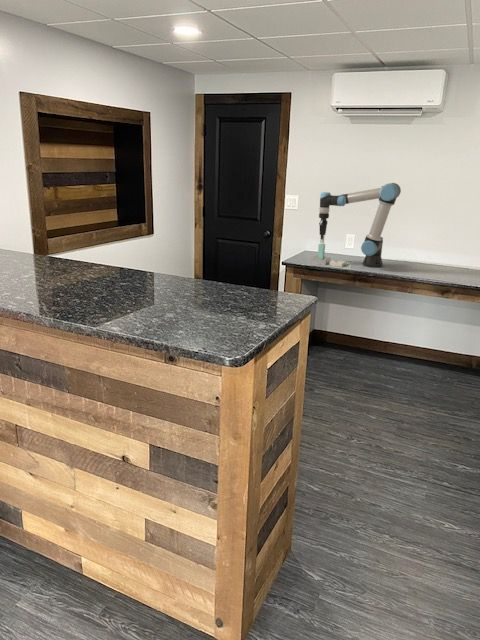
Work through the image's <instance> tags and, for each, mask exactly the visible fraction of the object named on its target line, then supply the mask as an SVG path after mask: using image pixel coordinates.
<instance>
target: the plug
mask: <svg viewBox="0 0 480 640" xmlns="http://www.w3.org/2000/svg"><path fill="white" fill-rule="evenodd" d="M317 247H318V248H317V249H318V250H317V255H318V258H320V259H324V257H325V250H326V243H319V244H318V246H317Z"/></svg>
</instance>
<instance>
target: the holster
mask: <svg viewBox="0 0 480 640" xmlns="http://www.w3.org/2000/svg"><path fill="white" fill-rule="evenodd" d="M346 264H347V261H345V260H339V259H337V260H336V259H333V260H330V263H328V266H332V267H344V266H345V265H346Z"/></svg>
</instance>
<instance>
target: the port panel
mask: <svg viewBox="0 0 480 640" xmlns="http://www.w3.org/2000/svg"><path fill="white" fill-rule="evenodd" d="M331 261H332V260H331V257H329V256H324V259H320V258H318V254H317V255H315V256H313V257H311V259H310V264H313V265H323V266H326V265H329V264H330V262H331Z"/></svg>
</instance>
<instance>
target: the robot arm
mask: <svg viewBox="0 0 480 640" xmlns="http://www.w3.org/2000/svg"><path fill="white" fill-rule="evenodd" d="M401 191H402V189H401V186H400V185H399V184H398V183H395V182H391V183H386V184H384V185H382V186H381V187H378V188H372V189H367V190H362V191H355V192H349V193H344V194H340V195H332V194H331V192H329V191H323V192H320V195H319V197H320V198H319V208H318V210H319V214H318V218H319V219H320V221H319V225H318V226H319V236H320V238H319V239H320V240H319V241H320V242H319V244H325V237H326V234H327V226H328V220H327V219H329V218H330V206H333V207H334V206H335V207H344V206H346V205H348V204H353V203H360V202H366V201H372V200H377V199H378V202H379V205H378V207H377V210H376V212H375V215H374V218H373V221H372V223H371V224H372V225H371V227H370V231H369V233H368V234H367V235H365V239H364V241H363V243H362V244H361V246H360V250H361V252H362V253H363V255H365V257H364V259H363V262H362V265H363V266H364V267H369V268H382V267H383V258H382V251H383V244H384V238H383V237H382V236H381V235H382V233H383V231H384V228H385V224H386V222H387V220H388V216H389V213H390V211H391V209H392V207H393V206H394V205H395V203H396V201H397V198H398V197H400V194H401V193H402V192H401Z"/></svg>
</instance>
